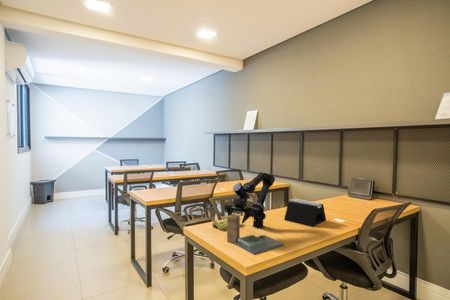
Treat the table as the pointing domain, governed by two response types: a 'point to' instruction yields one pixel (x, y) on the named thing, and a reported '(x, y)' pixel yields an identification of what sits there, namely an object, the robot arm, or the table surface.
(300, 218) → the device stand
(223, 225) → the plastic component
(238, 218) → the tall wooden pillar
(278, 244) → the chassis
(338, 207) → the table surface
